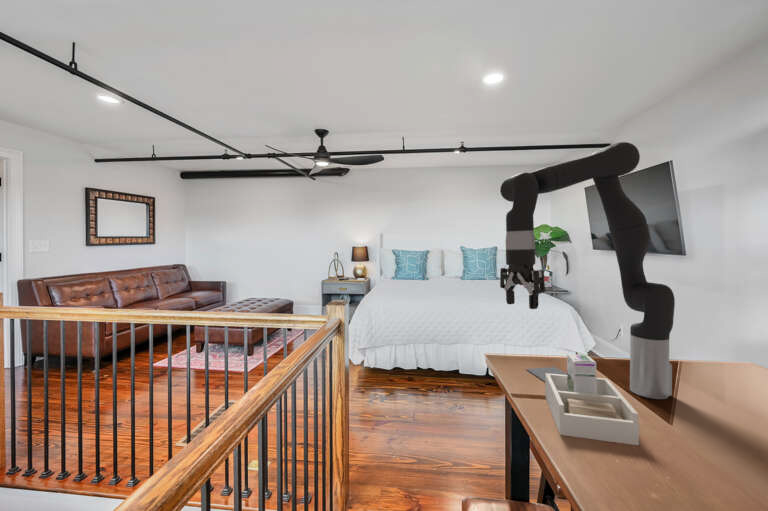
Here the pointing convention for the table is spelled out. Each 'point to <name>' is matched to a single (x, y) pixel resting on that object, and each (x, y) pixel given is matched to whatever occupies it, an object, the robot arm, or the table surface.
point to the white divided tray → (592, 425)
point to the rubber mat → (541, 372)
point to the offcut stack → (591, 409)
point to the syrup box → (581, 374)
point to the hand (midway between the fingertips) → (521, 306)
